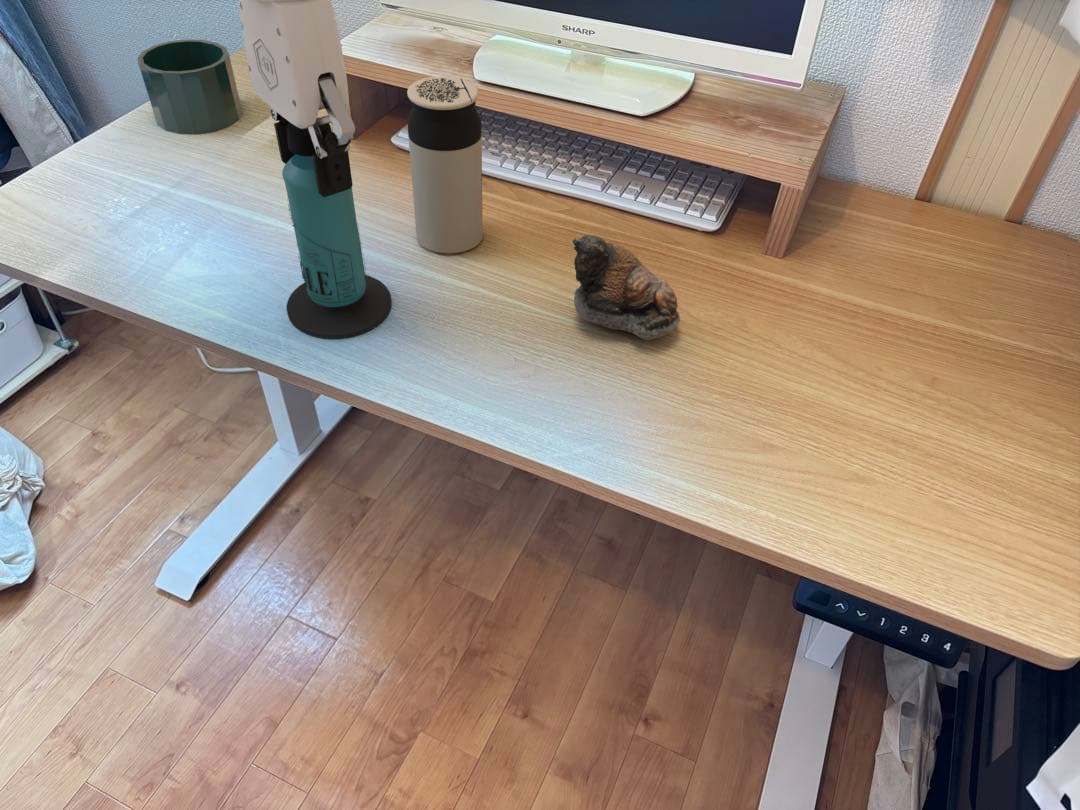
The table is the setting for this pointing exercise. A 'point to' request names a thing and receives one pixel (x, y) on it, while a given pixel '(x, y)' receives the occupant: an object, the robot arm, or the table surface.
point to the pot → (190, 86)
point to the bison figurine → (621, 290)
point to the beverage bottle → (323, 228)
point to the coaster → (340, 312)
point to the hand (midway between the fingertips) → (316, 173)
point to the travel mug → (446, 163)
